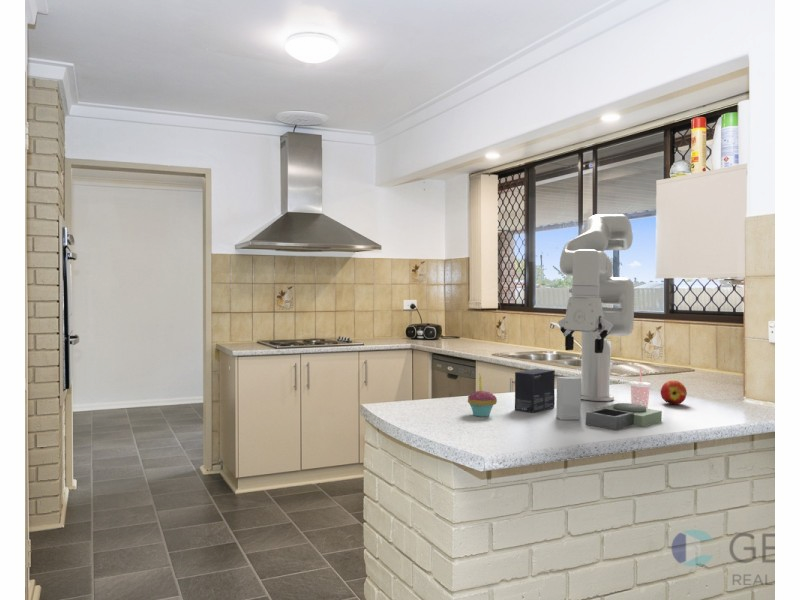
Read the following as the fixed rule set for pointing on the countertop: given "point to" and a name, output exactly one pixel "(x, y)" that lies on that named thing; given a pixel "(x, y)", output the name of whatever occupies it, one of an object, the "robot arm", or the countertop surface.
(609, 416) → the frame
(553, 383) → the small box
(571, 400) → the skincare box
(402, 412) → the countertop surface
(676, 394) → the apple
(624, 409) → the green domed square base
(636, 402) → the beverage cup
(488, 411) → the cupcake
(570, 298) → the robot arm
